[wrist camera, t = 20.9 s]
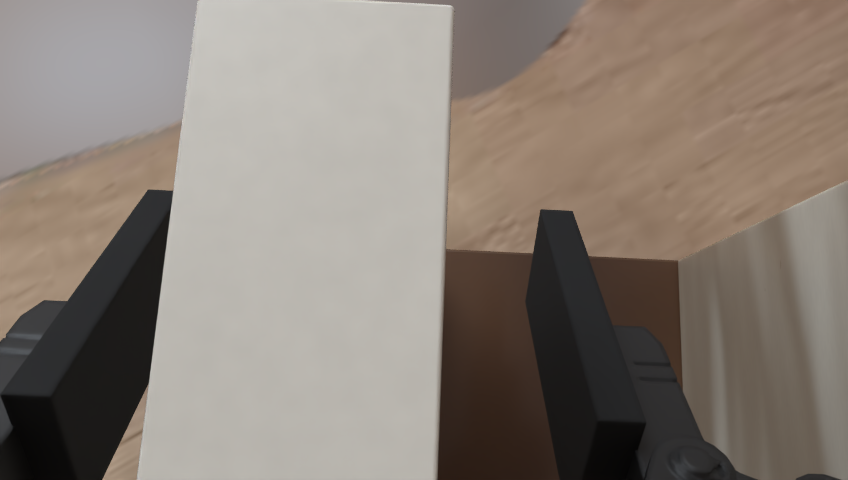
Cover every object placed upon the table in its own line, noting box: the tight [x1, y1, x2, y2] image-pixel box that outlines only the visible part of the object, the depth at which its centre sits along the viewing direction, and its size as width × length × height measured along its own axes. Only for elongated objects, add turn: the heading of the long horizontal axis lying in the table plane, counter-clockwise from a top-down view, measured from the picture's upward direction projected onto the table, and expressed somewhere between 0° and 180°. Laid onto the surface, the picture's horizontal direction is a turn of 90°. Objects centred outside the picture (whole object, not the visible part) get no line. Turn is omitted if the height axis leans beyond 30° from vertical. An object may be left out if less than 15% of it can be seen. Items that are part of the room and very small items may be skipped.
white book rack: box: [437, 180, 848, 480], centre depth 15 cm, size 22×9×15 cm, turn 88°
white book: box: [137, 0, 455, 480], centre depth 14 cm, size 3×9×14 cm, turn 177°
